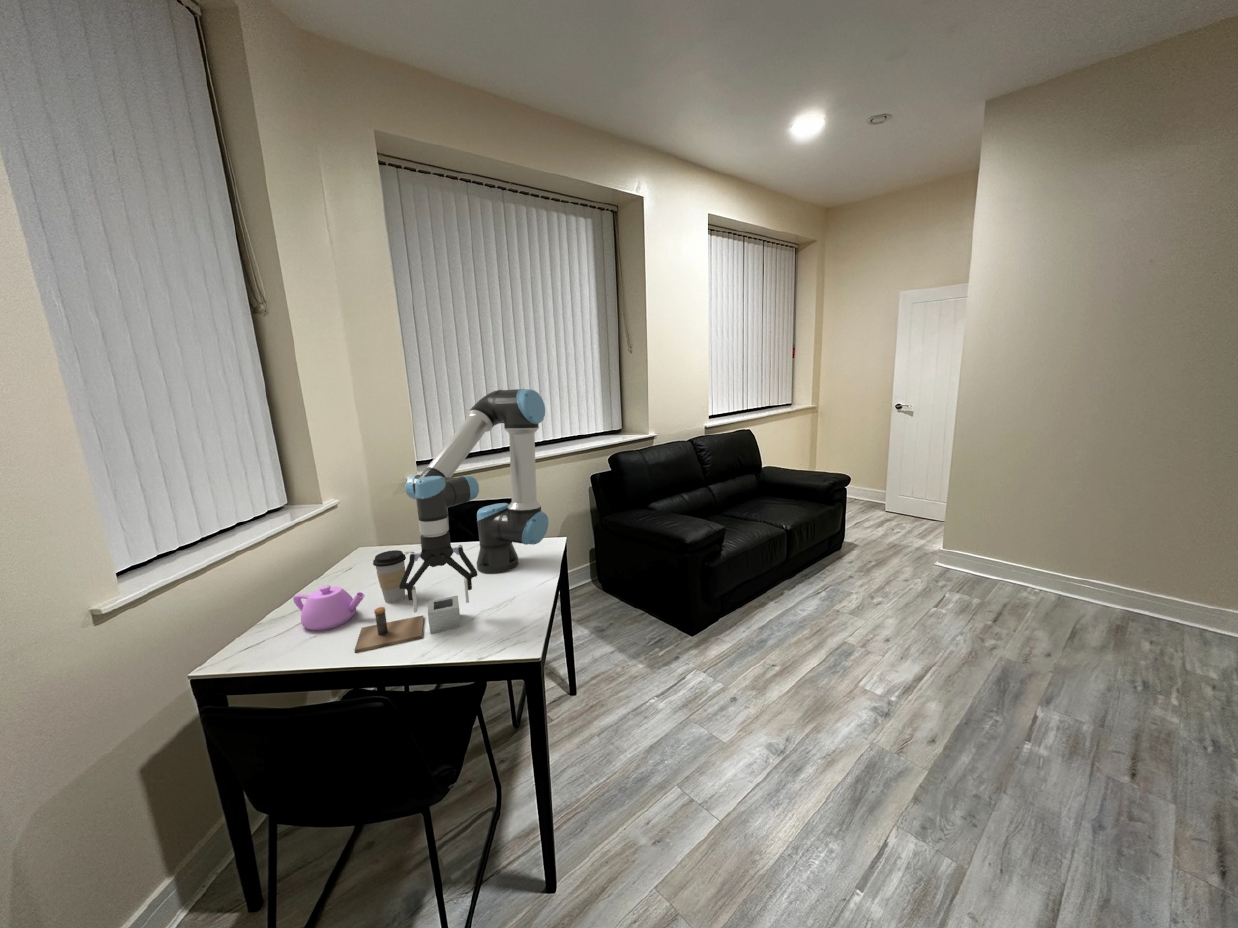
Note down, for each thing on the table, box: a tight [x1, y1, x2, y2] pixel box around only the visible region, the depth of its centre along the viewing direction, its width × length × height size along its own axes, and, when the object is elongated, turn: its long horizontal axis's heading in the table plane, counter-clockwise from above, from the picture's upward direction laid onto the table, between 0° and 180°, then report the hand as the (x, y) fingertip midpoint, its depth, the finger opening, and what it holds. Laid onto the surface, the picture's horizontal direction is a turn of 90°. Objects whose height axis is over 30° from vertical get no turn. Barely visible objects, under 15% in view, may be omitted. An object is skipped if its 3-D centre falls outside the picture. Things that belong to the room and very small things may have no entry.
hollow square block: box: [427, 595, 462, 634], centre depth 130 cm, size 8×8×6 cm
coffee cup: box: [372, 549, 407, 604], centre depth 146 cm, size 9×9×15 cm
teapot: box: [292, 584, 365, 631], centre depth 134 cm, size 14×20×11 cm
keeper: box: [354, 606, 424, 653], centre depth 125 cm, size 16×12×8 cm
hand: (442, 605), depth 129 cm, fingers open, 13 cm apart
